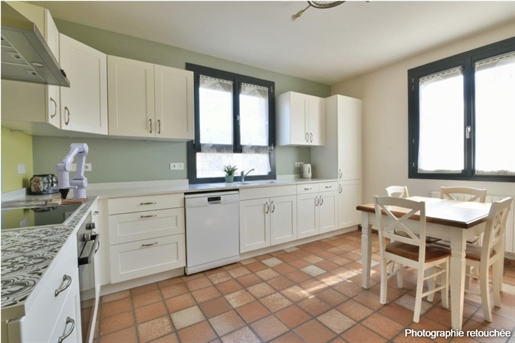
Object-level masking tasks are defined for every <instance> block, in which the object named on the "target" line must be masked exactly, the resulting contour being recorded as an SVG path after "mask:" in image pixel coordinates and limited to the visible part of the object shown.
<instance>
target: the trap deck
mask: <svg viewBox="0 0 515 343" xmlns="http://www.w3.org/2000/svg"><path fill="white" fill-rule="evenodd" d="M88 201H89V197H87V198H77V199H75V200H72V199H67V198H66V199H65V200H63V201H60V202H52V200H51V198H50V199H47V200H44V206H45V207H57V206H58V207H59V206H60V207H61V206H73V205H75V206H76V205H83V204H85V203H86V202H88Z"/></svg>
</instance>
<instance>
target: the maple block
mask: <svg viewBox="0 0 515 343" xmlns="http://www.w3.org/2000/svg"><path fill="white" fill-rule="evenodd" d="M50 199H51V200H52V202H60V201H63V198H62V195H61V194H54V195H51V198H50Z"/></svg>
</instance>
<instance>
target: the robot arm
mask: <svg viewBox="0 0 515 343" xmlns="http://www.w3.org/2000/svg"><path fill="white" fill-rule="evenodd" d="M69 148H70V150H69V152H68V153H67V155H65V156H64V157H63V159H62V160H61V161H60V163H57V164H56V165H55V170H56V173H57V177H58V186H50V191H52V190H58V192H59V195H62V198H63V200H65V199H67V197H68V195H69V192H70V190H72V193H73V194H72V196H73V197H72V198H73V199H71V200H75V199H77V198H88V197H87V190H86V188H87V187H88V184H89V183H88V178H87V177H86V176H84V174H85V168H86V167H85V166H86V159H87V155H88V153H89V145H88V144H87V143H85V142H84V143H83V142H82V143H79V142H78V143H74V142H72V143H71V144H70V145H69ZM75 156H77V159H76V160H77V162H76V168H75V174H74V176H72V177H71V179H70V171H71V168H72V163H73V162H74V161H75V160H74V159H75V158H74V157H75Z"/></svg>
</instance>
